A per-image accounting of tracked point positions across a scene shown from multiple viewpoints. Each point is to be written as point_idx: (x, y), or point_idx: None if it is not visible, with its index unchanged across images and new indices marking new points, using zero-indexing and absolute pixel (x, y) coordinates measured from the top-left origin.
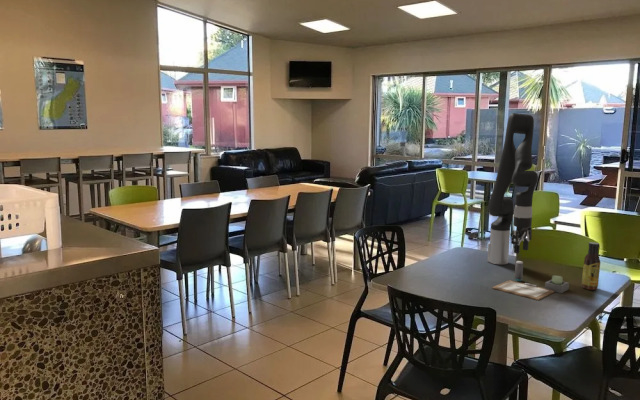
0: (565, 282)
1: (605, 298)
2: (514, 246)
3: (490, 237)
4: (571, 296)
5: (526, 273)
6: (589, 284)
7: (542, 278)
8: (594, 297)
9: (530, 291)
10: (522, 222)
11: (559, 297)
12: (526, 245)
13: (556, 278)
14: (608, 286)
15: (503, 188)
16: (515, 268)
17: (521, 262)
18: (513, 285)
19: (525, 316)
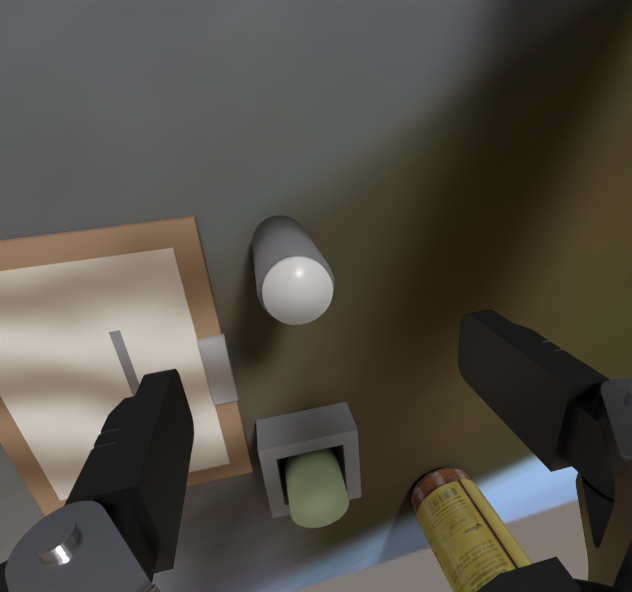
0: (350, 489)
1: (355, 568)
2: (73, 497)
3: None
4: (265, 521)
5: (479, 171)
6: (421, 527)
7: (440, 299)
8: (333, 552)
9: None
10: None
11: (201, 514)
12: (508, 404)
13: (291, 515)
14: (516, 497)
15: None
16: (261, 247)
17: (290, 320)
18: (103, 319)
19: None
